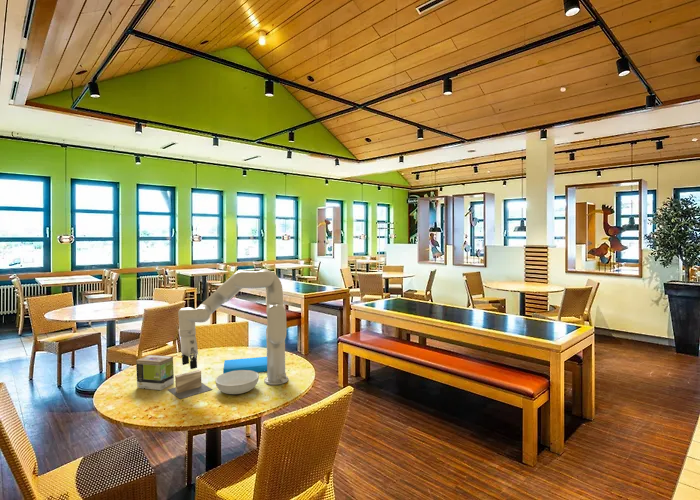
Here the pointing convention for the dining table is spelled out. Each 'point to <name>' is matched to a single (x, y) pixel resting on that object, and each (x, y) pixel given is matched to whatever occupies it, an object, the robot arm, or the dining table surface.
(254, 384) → the serving bowl
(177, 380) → the brown wooden block
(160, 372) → the tea box
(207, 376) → the dining table surface
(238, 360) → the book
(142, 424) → the dining table surface
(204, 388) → the mat
